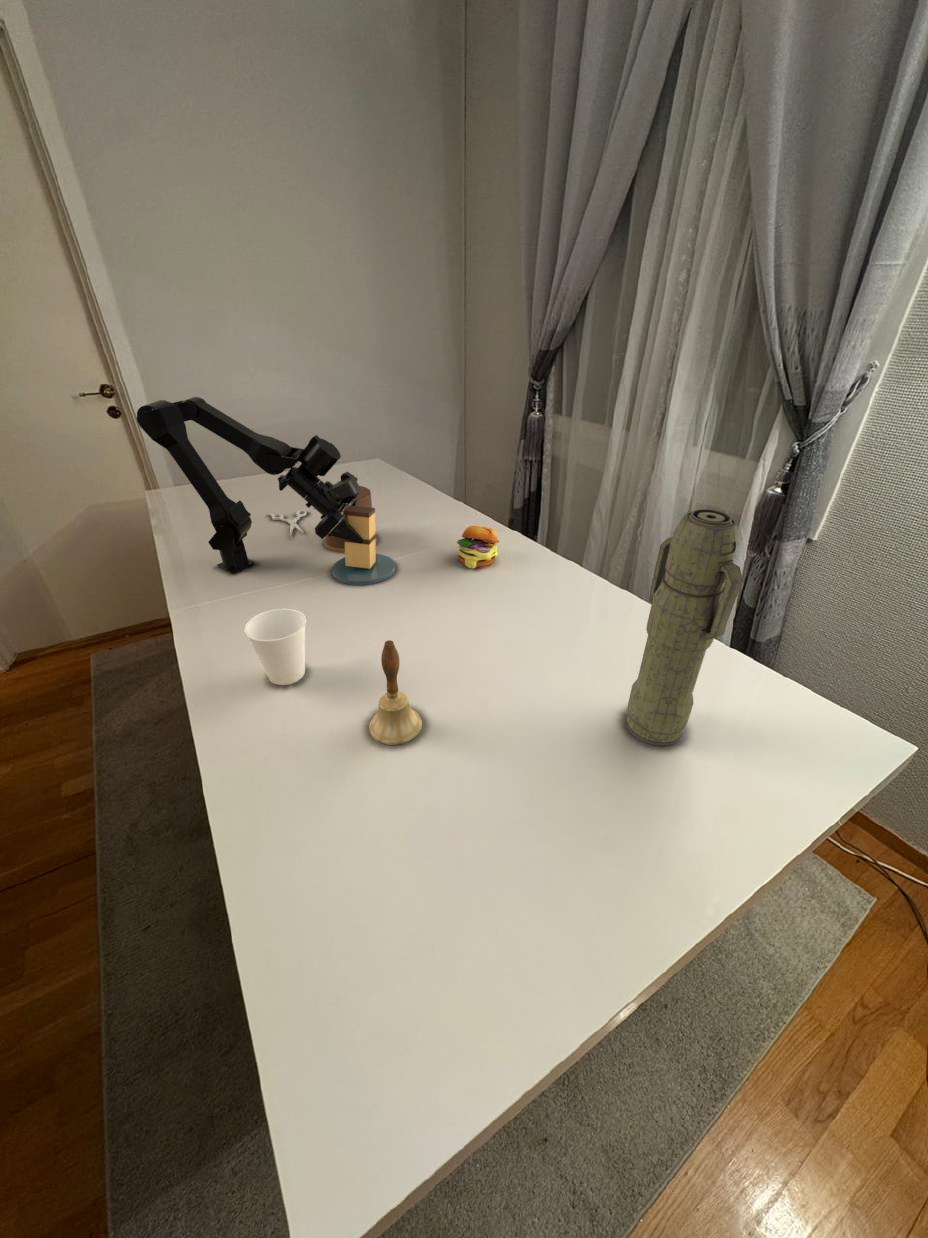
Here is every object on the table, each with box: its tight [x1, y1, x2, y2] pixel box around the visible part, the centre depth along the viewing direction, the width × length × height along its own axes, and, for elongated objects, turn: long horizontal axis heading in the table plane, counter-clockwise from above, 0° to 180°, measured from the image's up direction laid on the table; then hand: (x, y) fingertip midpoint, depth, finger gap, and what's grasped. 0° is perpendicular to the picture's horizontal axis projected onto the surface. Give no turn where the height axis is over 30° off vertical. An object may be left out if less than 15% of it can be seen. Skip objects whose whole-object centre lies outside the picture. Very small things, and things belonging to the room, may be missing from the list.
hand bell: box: [368, 640, 423, 746], centre depth 77 cm, size 8×8×16 cm
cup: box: [243, 608, 307, 686], centre depth 89 cm, size 10×10×11 cm
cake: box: [323, 485, 378, 553], centre depth 137 cm, size 14×14×13 cm
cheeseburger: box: [456, 525, 500, 569], centre depth 129 cm, size 10×11×10 cm
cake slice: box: [343, 505, 377, 569], centre depth 122 cm, size 6×5×13 cm
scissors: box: [268, 509, 308, 537], centre depth 149 cm, size 11×1×20 cm
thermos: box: [624, 508, 744, 747], centre depth 72 cm, size 9×12×35 cm
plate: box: [331, 553, 396, 586], centre depth 126 cm, size 15×15×1 cm
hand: (365, 536), depth 121 cm, fingers closed on cake slice, 6 cm apart
